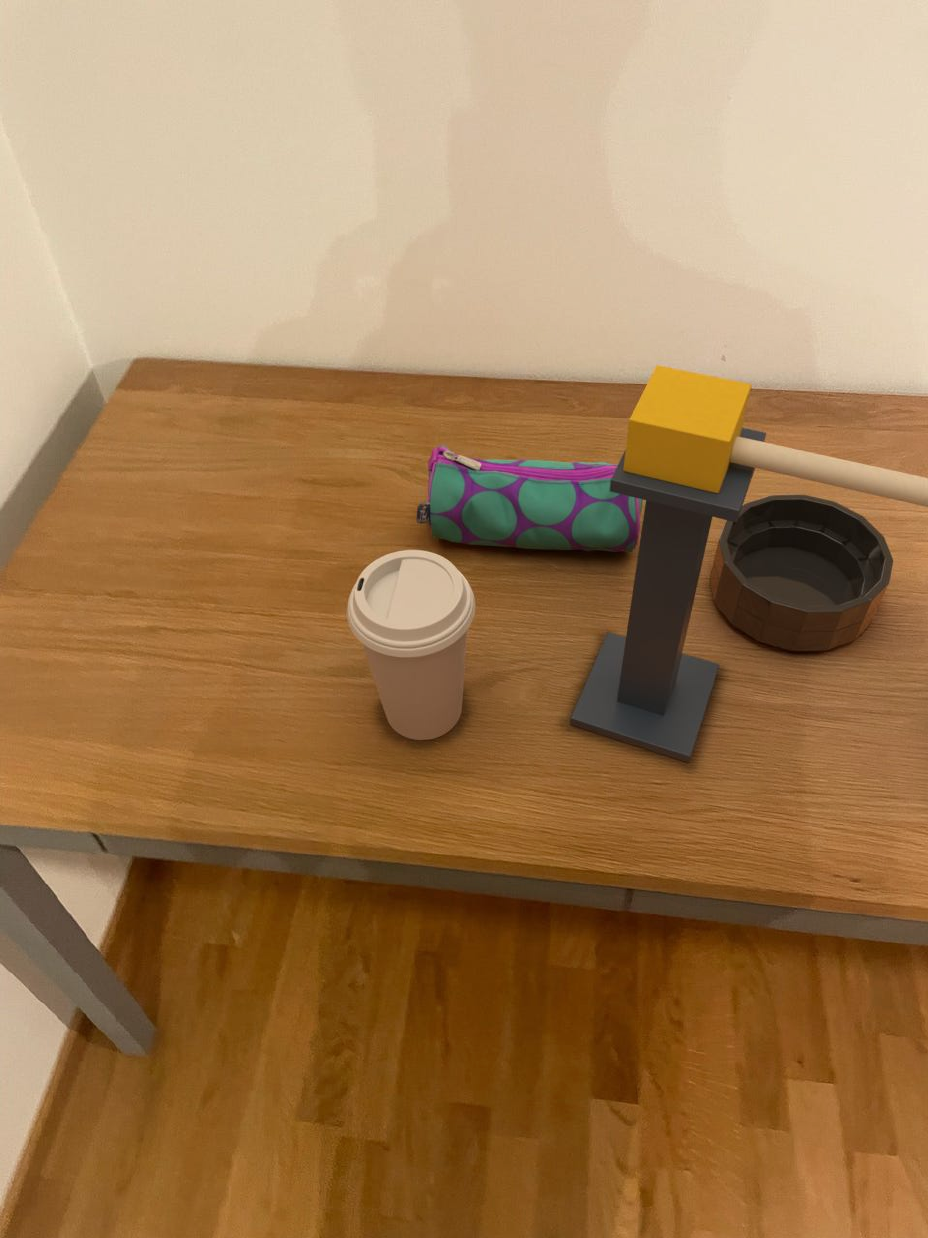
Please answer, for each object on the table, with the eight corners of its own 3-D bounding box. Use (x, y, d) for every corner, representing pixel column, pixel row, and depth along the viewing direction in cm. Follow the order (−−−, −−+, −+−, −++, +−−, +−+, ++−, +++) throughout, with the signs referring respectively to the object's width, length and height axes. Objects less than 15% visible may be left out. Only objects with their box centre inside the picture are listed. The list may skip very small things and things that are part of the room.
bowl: (881, 563, 87) (901, 516, 83) (859, 676, 79) (880, 631, 74) (728, 525, 91) (740, 479, 87) (692, 629, 83) (702, 583, 78)
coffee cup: (406, 649, 83) (390, 526, 71) (500, 690, 79) (498, 568, 68) (345, 726, 77) (316, 607, 66) (442, 774, 74) (429, 657, 63)
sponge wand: (955, 483, 56) (981, 429, 53) (946, 548, 52) (973, 495, 49) (649, 416, 61) (656, 364, 58) (622, 471, 58) (628, 419, 55)
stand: (718, 671, 80) (785, 426, 60) (688, 763, 74) (752, 525, 54) (606, 638, 83) (636, 394, 63) (569, 724, 77) (589, 485, 57)
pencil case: (420, 559, 90) (412, 483, 83) (434, 498, 96) (427, 423, 88) (636, 574, 88) (647, 497, 80) (637, 511, 93) (648, 434, 86)
